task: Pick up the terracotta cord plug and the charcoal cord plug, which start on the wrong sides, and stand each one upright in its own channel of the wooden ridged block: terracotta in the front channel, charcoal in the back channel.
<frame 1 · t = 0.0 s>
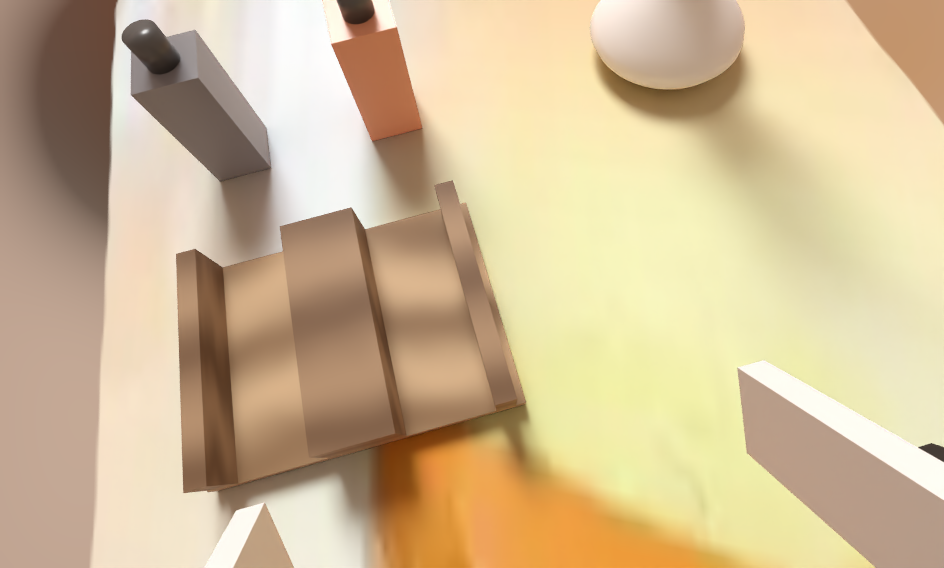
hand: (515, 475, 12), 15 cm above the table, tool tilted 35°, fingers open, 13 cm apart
terracotta plug: (392, 114, 36), on the table
wooden ridged block: (353, 337, 30), on the table
charcoal plug: (243, 153, 36), on the table
flower in vase: (662, 56, 37), on the table
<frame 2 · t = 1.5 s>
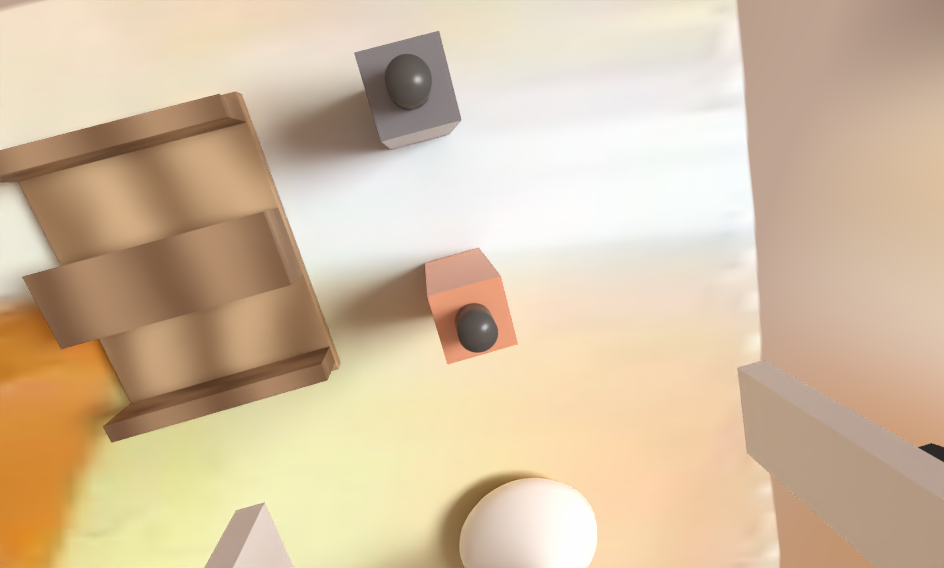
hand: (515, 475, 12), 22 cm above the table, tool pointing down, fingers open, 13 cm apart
terracotta plug: (459, 281, 33), on the table
wooden ridged block: (193, 267, 31), on the table
charcoal plug: (411, 111, 30), on the table
flower in vase: (514, 525, 39), on the table
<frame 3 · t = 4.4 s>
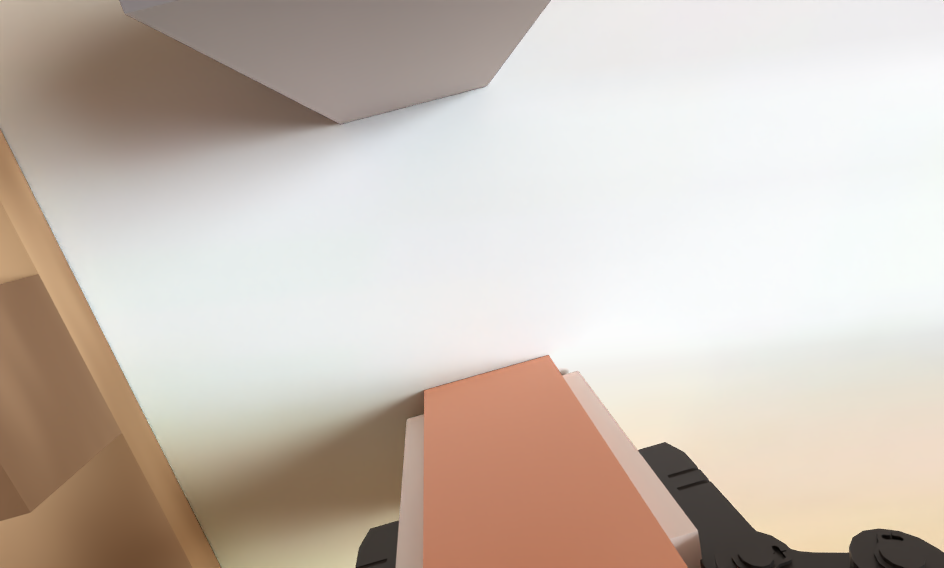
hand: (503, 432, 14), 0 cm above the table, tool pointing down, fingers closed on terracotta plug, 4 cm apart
terracotta plug: (501, 427, 15), on the table, touching gripper
charcoal plug: (391, 23, 12), on the table
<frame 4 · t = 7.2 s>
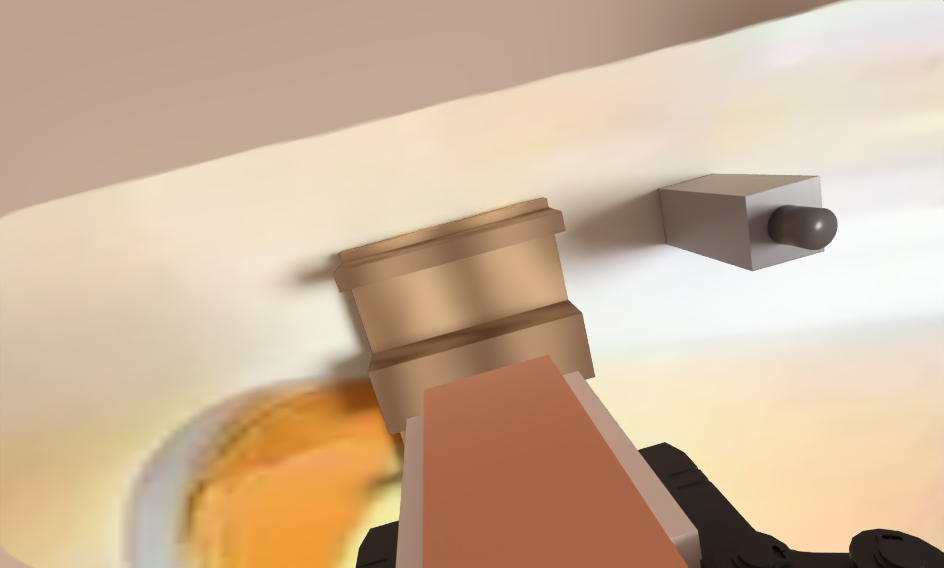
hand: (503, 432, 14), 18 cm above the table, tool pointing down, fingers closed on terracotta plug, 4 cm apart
terracotta plug: (501, 427, 15), point 18 cm above the table, touching gripper
wooden ridged block: (477, 350, 33), on the table
charcoal plug: (689, 209, 32), on the table
when the fingers open (2 cm above the table, at t = 10.4 s): terracotta plug stays where it is, resting on wooden ridged block.
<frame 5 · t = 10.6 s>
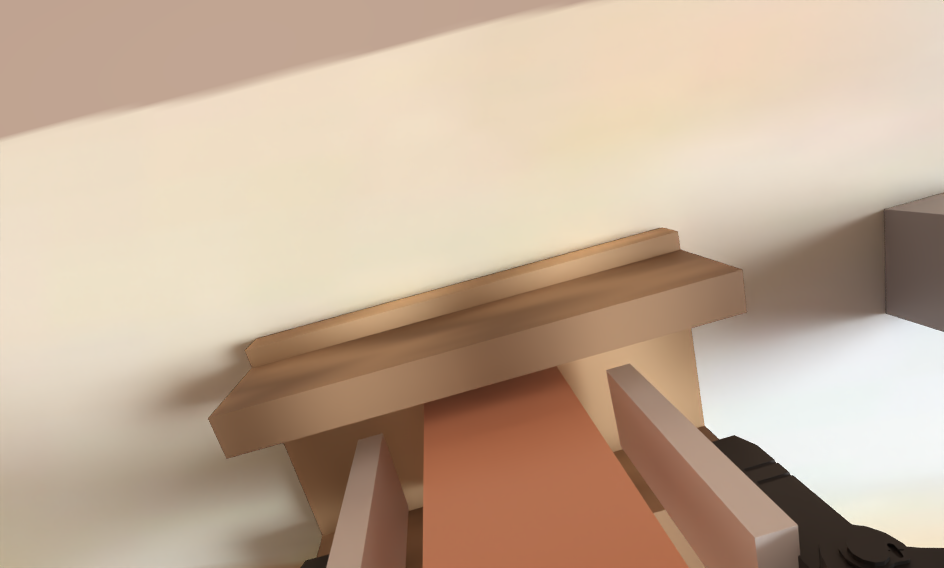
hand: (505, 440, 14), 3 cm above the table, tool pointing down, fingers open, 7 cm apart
terracotta plug: (497, 414, 16), point 1 cm above the table, touching wooden ridged block
wooden ridged block: (524, 512, 18), on the table
charcoal plug: (936, 248, 17), on the table
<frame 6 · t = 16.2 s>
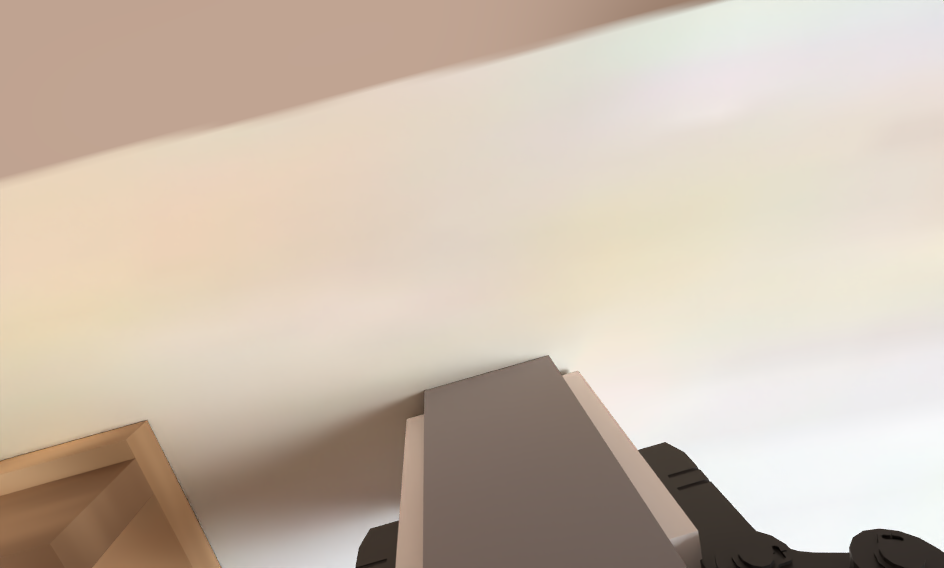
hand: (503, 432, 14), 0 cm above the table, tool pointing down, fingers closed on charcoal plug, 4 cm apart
charcoal plug: (501, 428, 15), on the table, touching gripper
when the fingers open (2 cm above the table, at t = 22.3 s): charcoal plug stays where it is, resting on wooden ridged block.
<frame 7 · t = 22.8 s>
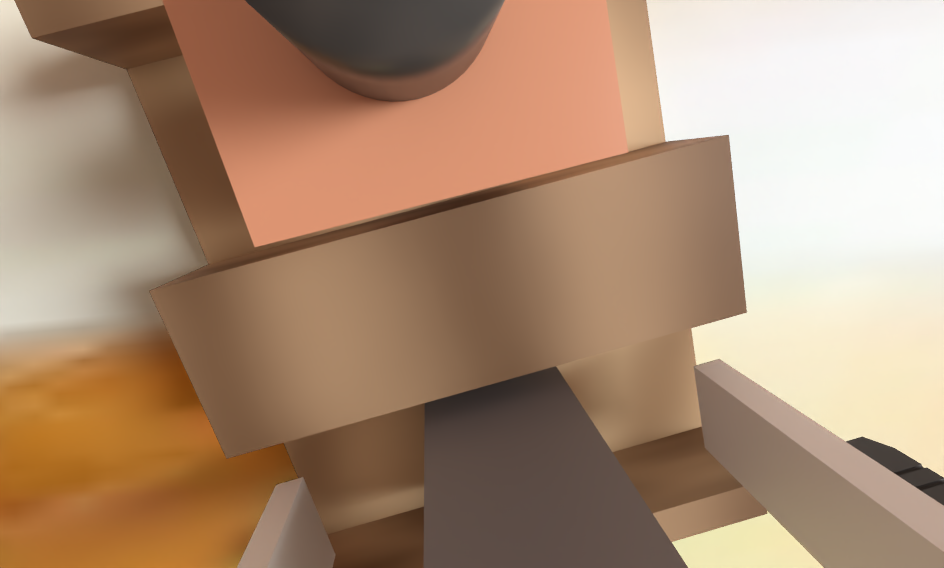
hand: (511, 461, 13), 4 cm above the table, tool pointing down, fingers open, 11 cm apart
terracotta plug: (414, 107, 13), point 1 cm above the table, touching wooden ridged block
wooden ridged block: (458, 268, 15), on the table
charcoal plug: (497, 415, 16), point 1 cm above the table, touching wooden ridged block
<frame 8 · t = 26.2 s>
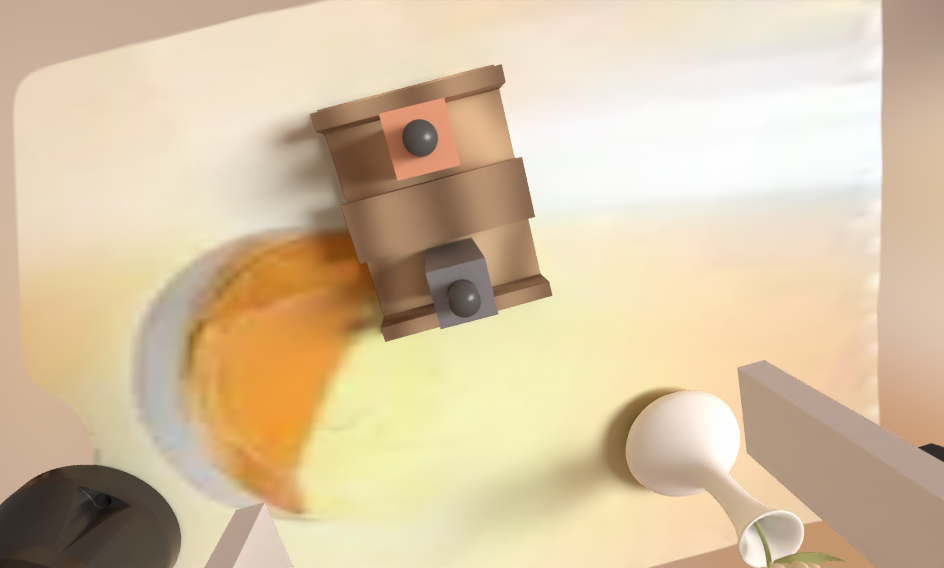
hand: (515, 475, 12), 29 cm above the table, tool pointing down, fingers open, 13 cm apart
terracotta plug: (421, 146, 37), point 1 cm above the table, touching wooden ridged block
wooden ridged block: (438, 207, 39), on the table
charcoal plug: (454, 265, 39), point 1 cm above the table, touching wooden ridged block
flower in vase: (664, 435, 47), on the table
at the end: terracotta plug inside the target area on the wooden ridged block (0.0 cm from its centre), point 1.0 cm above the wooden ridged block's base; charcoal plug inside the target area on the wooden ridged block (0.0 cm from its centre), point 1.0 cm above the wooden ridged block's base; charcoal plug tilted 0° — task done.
